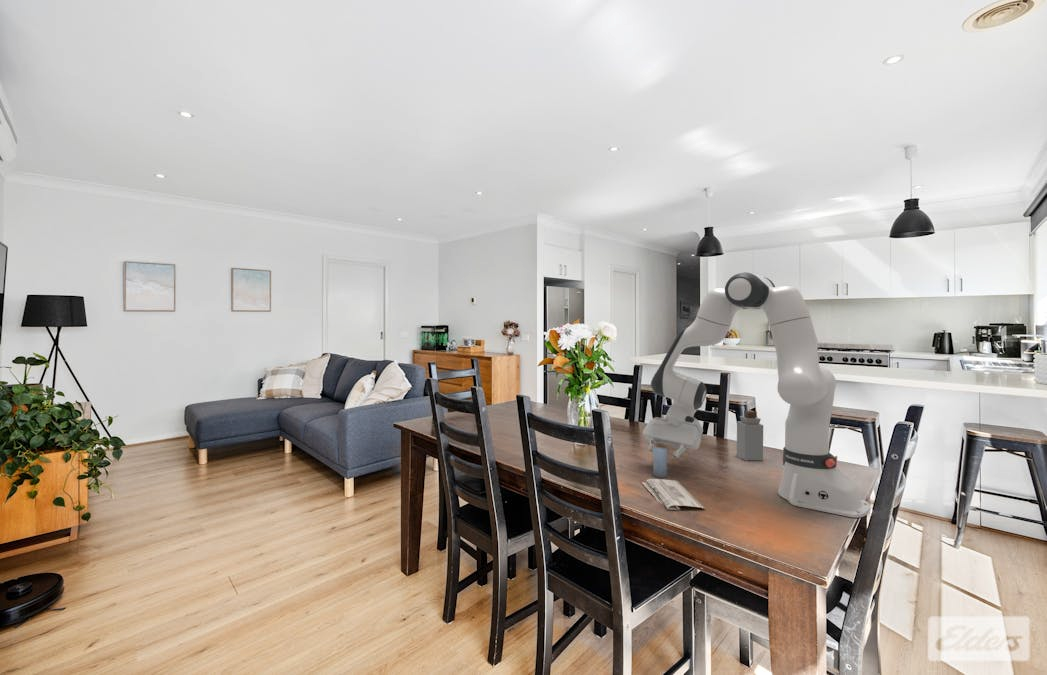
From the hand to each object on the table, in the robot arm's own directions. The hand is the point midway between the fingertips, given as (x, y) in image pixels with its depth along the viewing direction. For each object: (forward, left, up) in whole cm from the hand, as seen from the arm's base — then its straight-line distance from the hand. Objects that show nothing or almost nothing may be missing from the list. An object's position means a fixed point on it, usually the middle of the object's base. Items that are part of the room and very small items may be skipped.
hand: (662, 453), depth 158 cm
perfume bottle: (-13, -40, -7) cm, 43 cm away
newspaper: (-12, +16, -8) cm, 22 cm away
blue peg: (0, +2, -7) cm, 7 cm away
